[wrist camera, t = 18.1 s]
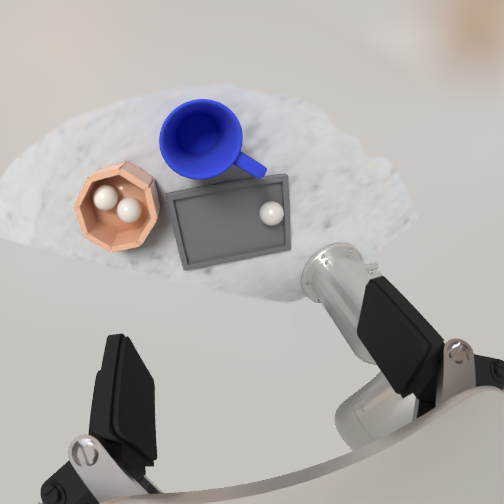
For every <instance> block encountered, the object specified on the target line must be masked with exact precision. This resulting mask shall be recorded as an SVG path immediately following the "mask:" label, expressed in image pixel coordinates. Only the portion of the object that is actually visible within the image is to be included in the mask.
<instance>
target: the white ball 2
mask: <svg viewBox="0 0 504 504" xmlns="http://www.w3.org/2000/svg"><path fill="white" fill-rule="evenodd" d="M141 214H142V206H141V203H140V202H139V201H138V200H137V199H136V198H133V197H126V198H124V199H122V200H121V201H120V202H119V204H118V206H117V215H118V217H119V218H120V220H121V221H123V222H125V223H133V222H135V221H137V220H138V219H139V218H140V216H141Z"/></svg>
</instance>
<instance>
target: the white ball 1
mask: <svg viewBox="0 0 504 504" xmlns="http://www.w3.org/2000/svg"><path fill="white" fill-rule="evenodd" d="M117 200H118V193H117V191H116V189H115V188H114V187H113V186H111V185H108V184H104V185H101V186H99V187H98V188H97V189H96V190H95V192H94V195H93V201H94V204H95V206H96V207H97V208H98V209H100V210H102V211H107V210H110V209H112V208H113V207H114V206H115V205H116V203H117Z"/></svg>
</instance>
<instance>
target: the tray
mask: <svg viewBox="0 0 504 504" xmlns="http://www.w3.org/2000/svg"><path fill="white" fill-rule="evenodd" d="M166 198H167V203H168V207H169V212H170V216H171V221H172V225H173V229H174V234H175V238H176V242H177V246H178V250H179V254H180V258H181V262H182V266H183V269H184V270H189V269H194V268H199V267H205V266H210V265H215V264H220V263H225V262H230V261H235V260H240V259H245V258H250V257H255V256H260V255H265V254H270V253H275V252H280V251H285V250H290V249H291V239H290V211H289V189H288V175H286V174H278V175H270V176H263V178H261V179H258V178H249V179H243V180H236V181H230V182H224V183H218V184H212V185H207V186H201V187H196V188H191V189H186V190H181V191H176V192H171V193H167V194H166ZM269 201H274V202H277V203H279V204H280V205H281V206H282V208H283V210H284V217H283V219H282V221H281V222H280V223H279V224H277V225H274V226H269V225H266V224H265V223H263V222H262V220H261V219H260V216H259V211H260V208H261V206H262V205H263V204H264V203H266V202H269Z"/></svg>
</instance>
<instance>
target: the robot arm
mask: <svg viewBox="0 0 504 504" xmlns="http://www.w3.org/2000/svg"><path fill="white" fill-rule="evenodd" d="M376 269H378V264H377V263H376V262H375V263H371V264H369V265H367V264H365V263H364V262H363V259H362V256H361V254H360V252H359V251H358V250H357V249H356V248H355V247H353V246H352V245H350V244H346V243H336V244H331V245H329V246H326V247H325V248H323V249H321V250H320V251H318V252H317V253H316V254H315V255H314V256H313V257H312V258H311V259H310V260H309V262H308V263H307V265H306V267H305V269H304V271H303V274H302V281H301V283H302V288H303V290H304V292H305V294H306V295H307V297H308V298H310V299H311V300H312V301H314V302H317V303H322V304H323V306H324V307H325V309H326V310H327V312H328V313H329V315H330V316H331V318H332V319H333V321H334V322H335V324H336V326H337V327H338V328H339V330H340V332H341V333H342V335H343V336H344V338H345V339H346V341H347V343H348V344H349V345H350V347H351V349H352V350H353V352H354V353H355V354H356V356H357V357H358V358H360V359H361V360H363V361H364V362H367V363H370V364H374V365H378V367H379V368H380V370H381V372H380V373H379V374H378V375H377V376H376V377H375V378H374V379H372V380H371V381H370V382H369V383H367V384H366V385H365V386H364V387H362V388H361V389H360V390H358V391H357V392H356V393H355V394H353V395H352V396H350V397H349V398H348V399H347V400H345V401H344V402H343V403H342V404H341V405H340V406H339V408H338V409H337V411H336V414H335V425H336V428H337V430H338V432H339V434H340V435H341V437H342V438H343V440H344V441H345V442H346V444H347V445H348V446H349V447H350V448H351V449H352V450H353V451H352V452H350V453H347V454H345V455H343V456H340V457H338V458H335V459H332V460H329V461H327V462H324V463H321V464H319V465H315V466H312V467H309V468H306V469H303V470H300V471H297V472H293V473H290V474H286V475H282V476H279V477H275V478H271V479H267V480H262V481H258V482H253V483H248V484H243V485H237V486H232V487H225V488H218V489H210V490H202V491H192V492H180V493H163V492H162V491H161V490H160V489H159V488H158V487H157V486H156V485H155V484H154V483H153V482H152V481H151V480H150V479H148V477H146V475H145V474H146V471H145V466H154V460H156V459H157V446H156V429H155V387H154V380H153V378H152V376H151V375H150V373H149V371H148V369H147V368H146V366H145V364H144V363H143V361H142V359H141V358H140V356H139V354H138V352H137V351H136V349H135V347H134V345H133V343H132V342H131V340H130V338H129V337H125V336H124V335H123V334H116V335H109V336H108V337H107V341H106V346H105V352H104V356H103V361H102V367H101V370H100V371H98V373H97V375H96V380H95V386H94V393H93V400H92V407H91V415H90V426H89V435H81V436H78V437H77V438H75V439H74V440H73V441H72V442H71V444H70V446H69V450H68V455H69V459H70V460H69V461H68V462H67V463H66V464H65V465H63V466H62V467H61V468H60V469H59V470H58V471H57V472H56V473H54V474H53V475H52V476H51V477H50V478H49V479H48V480H46V481H45V482H44V484H43V485H42V487H41V498H42V501H43V502H42V503H38V504H504V361H502V360H500V359H495V358H490V357H485V356H480V355H475V354H474V353H473V350H472V348H471V346H470V345H469V344H468V343H467V342H465V341H463V340H461V339H451V340H449V341H448V342H446V344H444V342H443V341H444V339H443V338H442V337H441V336H440V335H439V334H438V333H437V331H436V330H435V329H434V328H433V327H432V326H431V325H430V324H429V323H428V322H427V321H426V319H425V318H424V317H423V316H422V315H421V314H420V313H419V312H418V311H417V310H416V309H415V308H414V306H413V305H412V304H411V303H410V302H409V301H408V300H407V299H406V298H405V297H404V296H403V295H402V294H401V293H400V292H399V291H398V290H397V289H396V288H395V287H394V286H393V285H392V284H391V283H390V282H389V281H388V280H387V279H386V278H385V277H384V276H382V275H381V272H380V271H375V272H372V273H370V274H369V271H373V270H376Z"/></svg>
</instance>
